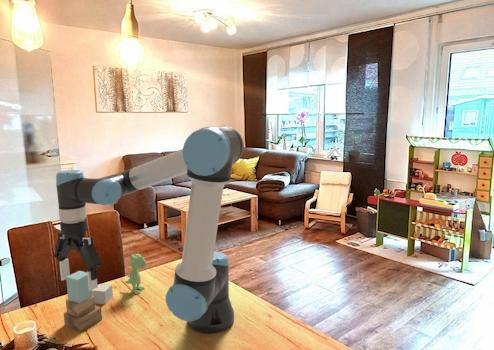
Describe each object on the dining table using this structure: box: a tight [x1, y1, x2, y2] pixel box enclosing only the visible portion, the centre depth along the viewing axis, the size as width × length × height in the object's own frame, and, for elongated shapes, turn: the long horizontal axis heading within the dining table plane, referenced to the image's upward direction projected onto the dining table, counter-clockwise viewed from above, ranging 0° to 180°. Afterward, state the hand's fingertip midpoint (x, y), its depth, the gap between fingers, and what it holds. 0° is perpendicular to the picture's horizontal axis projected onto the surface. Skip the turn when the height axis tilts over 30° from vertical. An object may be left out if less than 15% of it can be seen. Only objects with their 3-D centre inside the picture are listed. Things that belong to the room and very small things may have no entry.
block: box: [92, 283, 114, 305], centre depth 129 cm, size 5×5×5 cm
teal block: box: [65, 270, 92, 304], centre depth 113 cm, size 5×5×8 cm
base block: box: [63, 305, 103, 333], centre depth 116 cm, size 8×8×4 cm
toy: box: [122, 253, 147, 295], centre depth 135 cm, size 7×8×15 cm
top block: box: [65, 296, 96, 318], centre depth 115 cm, size 6×6×4 cm
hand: (79, 283), depth 113 cm, fingers open, 13 cm apart
